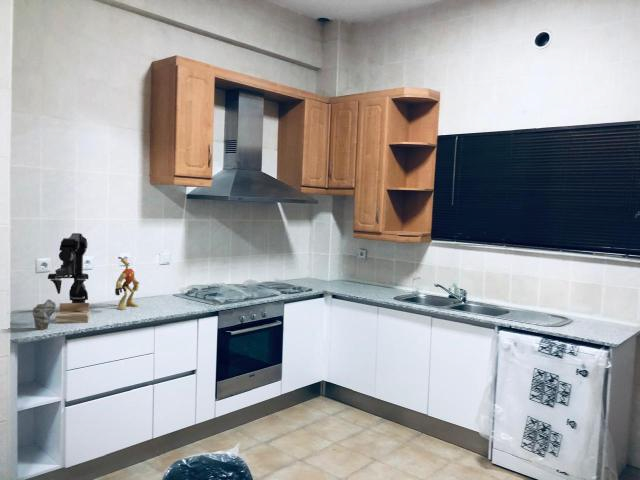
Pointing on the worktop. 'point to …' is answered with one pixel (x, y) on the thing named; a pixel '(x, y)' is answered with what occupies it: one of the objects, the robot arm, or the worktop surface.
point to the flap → (74, 307)
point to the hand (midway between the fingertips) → (67, 293)
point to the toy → (126, 286)
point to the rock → (43, 314)
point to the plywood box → (72, 317)
